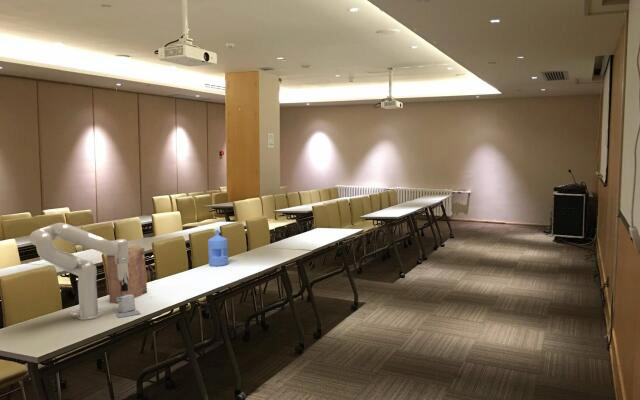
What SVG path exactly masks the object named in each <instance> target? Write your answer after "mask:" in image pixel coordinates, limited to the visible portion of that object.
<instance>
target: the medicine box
mask: <svg viewBox="0 0 640 400" xmlns="http://www.w3.org/2000/svg"><path fill="white" fill-rule="evenodd" d="M117 304H118V310H119V311H118V312H119V313H125V312H131V311H136V303H135V298H134V295H126V296H122V297H118V303H117Z"/></svg>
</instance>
